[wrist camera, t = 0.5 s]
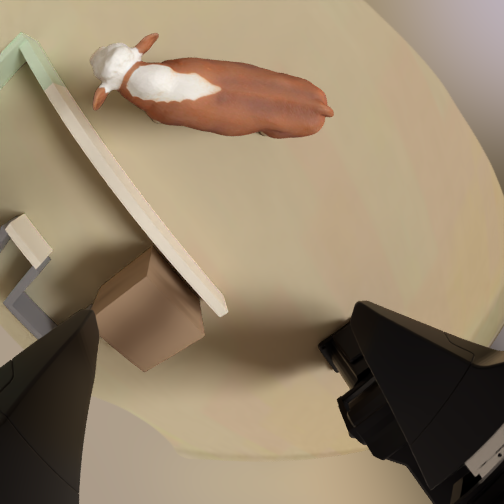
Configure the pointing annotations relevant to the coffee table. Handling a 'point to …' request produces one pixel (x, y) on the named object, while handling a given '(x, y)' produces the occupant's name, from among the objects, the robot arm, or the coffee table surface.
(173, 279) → the walnut block
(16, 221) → the trap pen
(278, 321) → the coffee table surface
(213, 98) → the bull figurine
